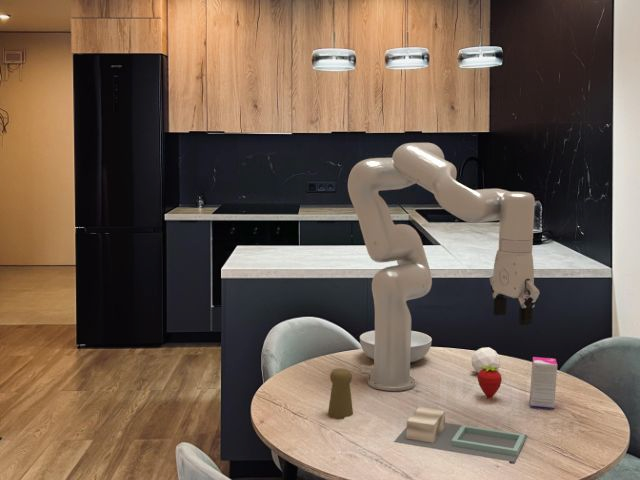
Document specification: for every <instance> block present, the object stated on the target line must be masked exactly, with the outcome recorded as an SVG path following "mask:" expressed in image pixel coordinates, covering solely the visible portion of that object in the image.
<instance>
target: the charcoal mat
mask: <svg viewBox="0 0 640 480" xmlns="http://www.w3.org/2000/svg"><path fill="white" fill-rule="evenodd" d="M462 425H463V424H456V423H448V422H445V428H444V429H443V430H442V432H441V433H440V434H439V436H438V437H437V438H436V440H435V441H434V442H433V443H431V442H425V441H419V440H413V439H407V438H406V437H407V426H405V428H404V429H403V430H402V431H401V433H399V435H398V436H397V437H396V438H395V439H394V440H393V442H394V443H396V444H397V443H398V444H404V445H408V446H409V445H411V446H415V447H422V448H428V449H435V450H439V451H446V452H453V453H459V454H462V455H463V454H464V455H471V456H477V457H482V458H483V457H484V458H489V459H495V460H501V461H506V462H508V463H509V464H515V463H516V460H517V459H518V458H519V455H520V453H521V451H522V449H523V446H524V444H525V442H526V439H528V435H527V434H524V435H525V441H524V443H523V445H522V447H521V449H520V451H519V453H518V455H517V456H511V455H505V454H499V453H493V452H487V451H481V450H474V449H468V448H462V447H456V446H451V440H452V439H453V437H454V436H455V435H456V433H457V432H458V430H459V429H460V427H461V426H462ZM460 440H463V441H470V442H476V443H482V444H488V445H495V446H501V447H507V448H514V446H515V444H516V442H517V440H512V439H505V438H499V437H492V436H486V435H480V434H473V433H467V432H465V433H464V435H463V436H462V438H461V439H460Z"/></svg>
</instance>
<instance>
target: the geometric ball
mask: <svg viewBox="0 0 640 480" xmlns="http://www.w3.org/2000/svg"><path fill="white" fill-rule="evenodd" d="M489 363H490V364H491V365H490V364H489ZM489 365H490V366H491V367H498V368H497V370H499V369H500V366H501V357H500V355H499V354H498V353H497V351H496V350H494V349H493V348H491V347H481V348H478V349H477V350H475V351H474V353H473V355H472V356H471V367H472V368H473V369H474V371H475V372H476V373H477V374H478V373H479V372H480V371H481V370H482V369H481V368H478V367H487V368H488V366H489Z"/></svg>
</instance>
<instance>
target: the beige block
mask: <svg viewBox="0 0 640 480" xmlns="http://www.w3.org/2000/svg"><path fill="white" fill-rule="evenodd" d="M445 423H446V410H444V409H436V408H430V407H423V406H419V407H418V408H417V409H416V410H415V411H414V412H413V414H411V416H410V417H409V418H408V419H407V420H406V427H407V437H406V438H407V439H413V440H419V441H425V442H431V443H433V442H434V441H435V440H436V438H437V437H438V436H439V434H440V433H441V432H442V430H443V429H444V428H445Z"/></svg>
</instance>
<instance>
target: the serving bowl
mask: <svg viewBox="0 0 640 480" xmlns="http://www.w3.org/2000/svg"><path fill="white" fill-rule="evenodd" d="M432 341H433V339H432V337H431V336H429V335H428V334H426V333H423V332H419V331H414V330H411V351H410V363H414V362H416V361H419V360H421V359H423V358H424V357H425V356H426V355H427V354H428V352H429V351H430V349H431V347H432ZM359 342H360V347H361V349H362V350H363V352H364V353H365V355H366V356H367V357H369V358H371V359H372V360H374V345H375V330H370V331H366V332H363V333H362V334H360V335H359Z"/></svg>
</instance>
